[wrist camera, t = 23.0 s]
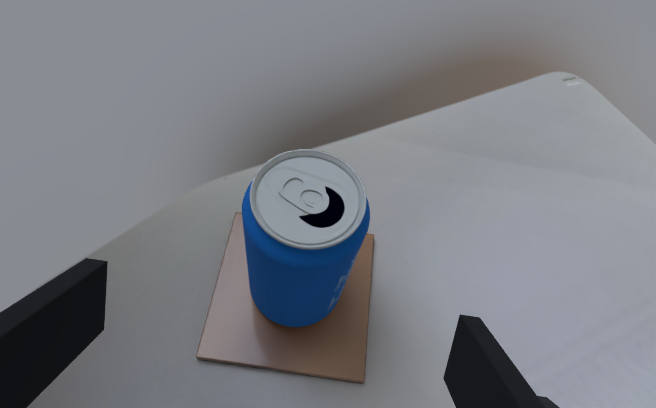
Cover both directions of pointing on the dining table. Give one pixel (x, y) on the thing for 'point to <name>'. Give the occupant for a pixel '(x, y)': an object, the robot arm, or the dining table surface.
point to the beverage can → (302, 234)
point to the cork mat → (282, 341)
